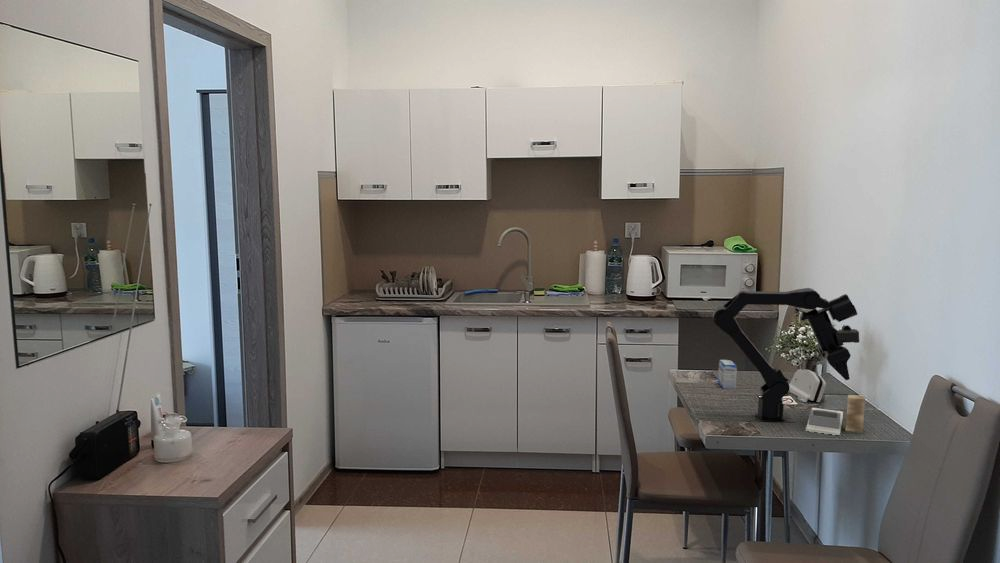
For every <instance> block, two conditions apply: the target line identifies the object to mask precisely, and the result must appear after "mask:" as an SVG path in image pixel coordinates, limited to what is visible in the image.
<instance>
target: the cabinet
mask: <svg viewBox="0 0 1000 563" xmlns="http://www.w3.org/2000/svg"><path fill="white" fill-rule="evenodd" d="M843 416H844V411H840V410H832V409H824V408H818V407H812V408H810V412H809V416H808V420H807V424H806V426H805V432H807V431H809V433H814V432H817V433H816V434H821V433H824V434H823V435H828V434H832V435H831V436H835V435H840V436H841V431H842V430H841V429H842V424H843Z"/></svg>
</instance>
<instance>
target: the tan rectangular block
mask: <svg viewBox="0 0 1000 563" xmlns="http://www.w3.org/2000/svg"><path fill="white" fill-rule="evenodd" d="M865 402H866V396H864V395H863V396H862V395H855V394H854V395H853V394H848V395H847V402H846V403H847V404H846V406H847V407H846V416H845V418H846V419H845V428H844V429H845V430H844V431H845V432H850V431H851V433H857V434H858V433H859V434H864V433H863V432H864V431H863V430H864V419H865V418H864V417H865V406H866V405H865V404H866V403H865Z"/></svg>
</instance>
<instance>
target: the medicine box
mask: <svg viewBox="0 0 1000 563" xmlns="http://www.w3.org/2000/svg"><path fill="white" fill-rule="evenodd" d="M737 368H738V366H737V364H736V363H735V362H733V361H732V360H729V359H719V362H718V374H717V375H718V376H717V384H719V386H721V388H723V389H729V390H730V389H731V390H734V389H736V386H737Z"/></svg>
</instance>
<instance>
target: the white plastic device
mask: <svg viewBox="0 0 1000 563" xmlns="http://www.w3.org/2000/svg"><path fill="white" fill-rule="evenodd" d="M802 369H804V368H798V369H797V370H796V371H795V373H794V374H793V376H792V379H791V380H790V383H788V384H789V386H790V388H789V391H790V392H791V393H793V394H795V395H797V396H798V397H800V398H801V399H803V400H804V401H805V402H806V403H807V402H808V401H813V402H815V401H816V403H817V402H820V403H821V401H822V398H823V396H824V392H825V388H826V386H827V383H826V381H825V379H824V378H823V377H822V376H821V375H819V374H818V373H817V372H815V371H812V370H810V369H804V370H802ZM814 400H815V401H814Z"/></svg>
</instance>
